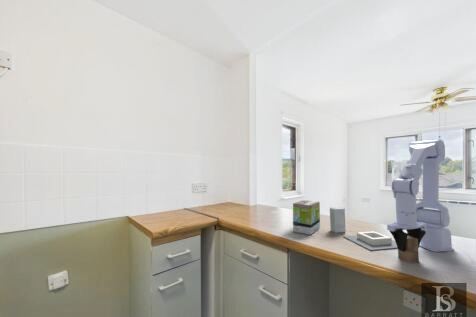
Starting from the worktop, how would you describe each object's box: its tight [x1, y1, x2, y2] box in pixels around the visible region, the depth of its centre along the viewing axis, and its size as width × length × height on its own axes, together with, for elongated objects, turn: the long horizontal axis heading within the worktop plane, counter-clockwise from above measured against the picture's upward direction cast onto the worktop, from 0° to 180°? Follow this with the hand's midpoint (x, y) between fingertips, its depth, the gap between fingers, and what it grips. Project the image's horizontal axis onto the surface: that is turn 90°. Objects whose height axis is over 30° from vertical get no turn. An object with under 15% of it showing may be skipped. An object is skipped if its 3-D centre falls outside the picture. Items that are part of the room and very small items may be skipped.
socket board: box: [342, 230, 398, 252], centre depth 89 cm, size 18×16×3 cm
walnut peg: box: [397, 236, 420, 264], centre depth 72 cm, size 4×4×8 cm
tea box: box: [292, 199, 321, 236], centre depth 108 cm, size 15×10×15 cm, turn 143°
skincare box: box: [329, 206, 347, 234], centre depth 104 cm, size 6×4×12 cm
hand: (407, 249), depth 72 cm, fingers open, 5 cm apart
